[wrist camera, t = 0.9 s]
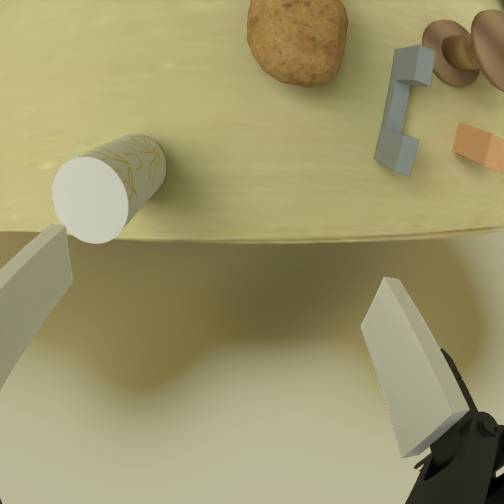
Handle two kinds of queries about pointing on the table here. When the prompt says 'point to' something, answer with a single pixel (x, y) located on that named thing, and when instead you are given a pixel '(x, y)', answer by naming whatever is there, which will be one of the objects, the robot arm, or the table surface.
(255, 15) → the potato
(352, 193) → the table surface
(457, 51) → the bobbin
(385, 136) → the gray board
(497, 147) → the orange brown tapered block
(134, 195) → the cup
